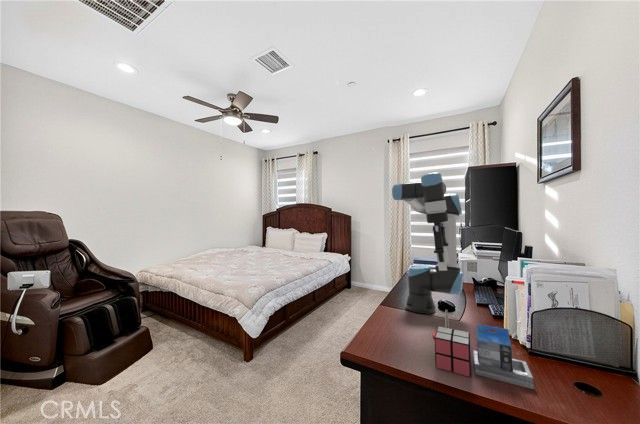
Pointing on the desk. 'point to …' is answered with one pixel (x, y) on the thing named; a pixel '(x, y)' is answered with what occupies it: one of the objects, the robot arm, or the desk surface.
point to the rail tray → (506, 372)
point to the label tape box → (494, 347)
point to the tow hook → (445, 322)
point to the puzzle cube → (453, 351)
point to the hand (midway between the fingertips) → (444, 266)
